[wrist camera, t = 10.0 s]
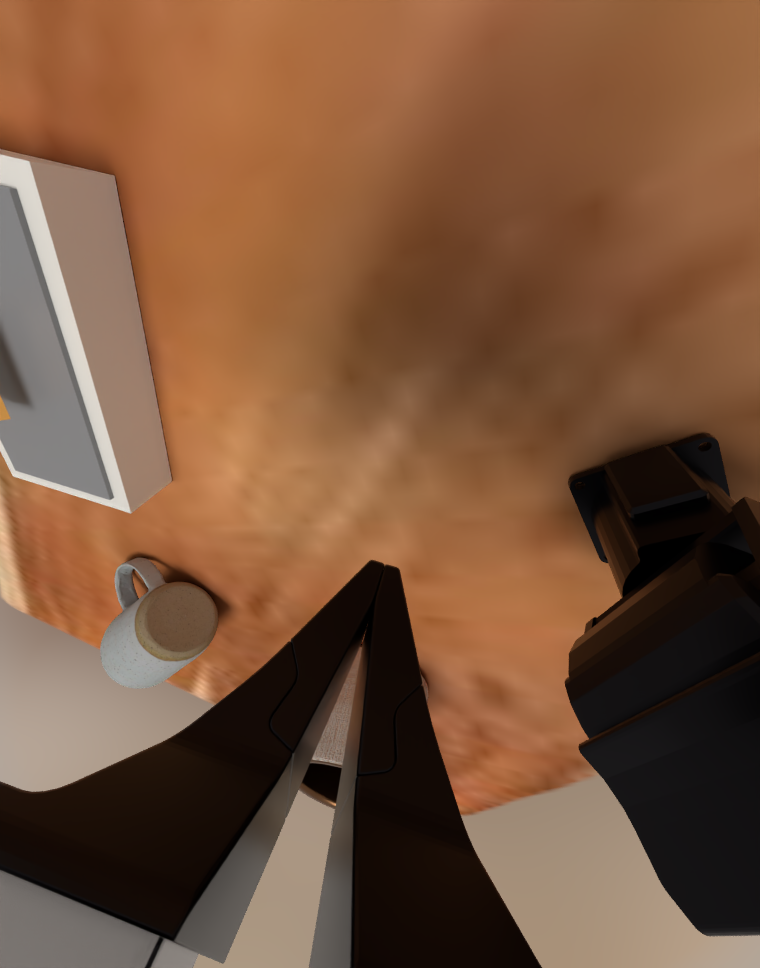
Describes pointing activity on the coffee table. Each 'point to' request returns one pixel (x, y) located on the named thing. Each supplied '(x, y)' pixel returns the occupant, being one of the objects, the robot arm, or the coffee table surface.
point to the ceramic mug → (155, 627)
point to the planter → (334, 745)
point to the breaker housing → (73, 339)
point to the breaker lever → (3, 411)
